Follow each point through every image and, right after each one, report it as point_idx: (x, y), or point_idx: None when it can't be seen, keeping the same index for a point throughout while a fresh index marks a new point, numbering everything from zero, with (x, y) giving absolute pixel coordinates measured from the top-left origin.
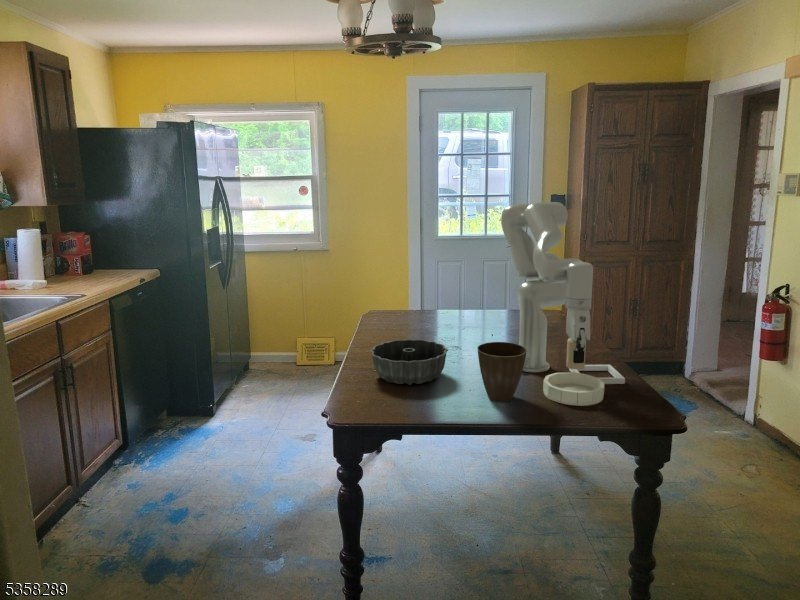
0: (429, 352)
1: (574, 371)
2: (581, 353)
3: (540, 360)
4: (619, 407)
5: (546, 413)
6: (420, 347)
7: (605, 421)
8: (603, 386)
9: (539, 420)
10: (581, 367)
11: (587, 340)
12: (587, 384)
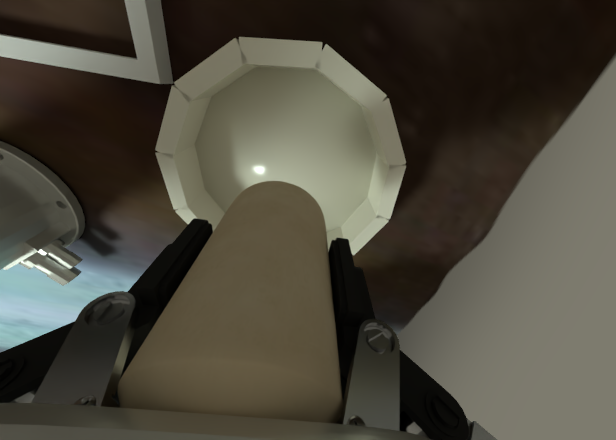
0: None
1: (38, 62)
2: (369, 314)
3: (7, 203)
4: (448, 45)
5: (389, 274)
6: None
7: (507, 168)
8: (366, 80)
9: (414, 293)
10: (323, 219)
11: (379, 430)
12: (224, 85)
